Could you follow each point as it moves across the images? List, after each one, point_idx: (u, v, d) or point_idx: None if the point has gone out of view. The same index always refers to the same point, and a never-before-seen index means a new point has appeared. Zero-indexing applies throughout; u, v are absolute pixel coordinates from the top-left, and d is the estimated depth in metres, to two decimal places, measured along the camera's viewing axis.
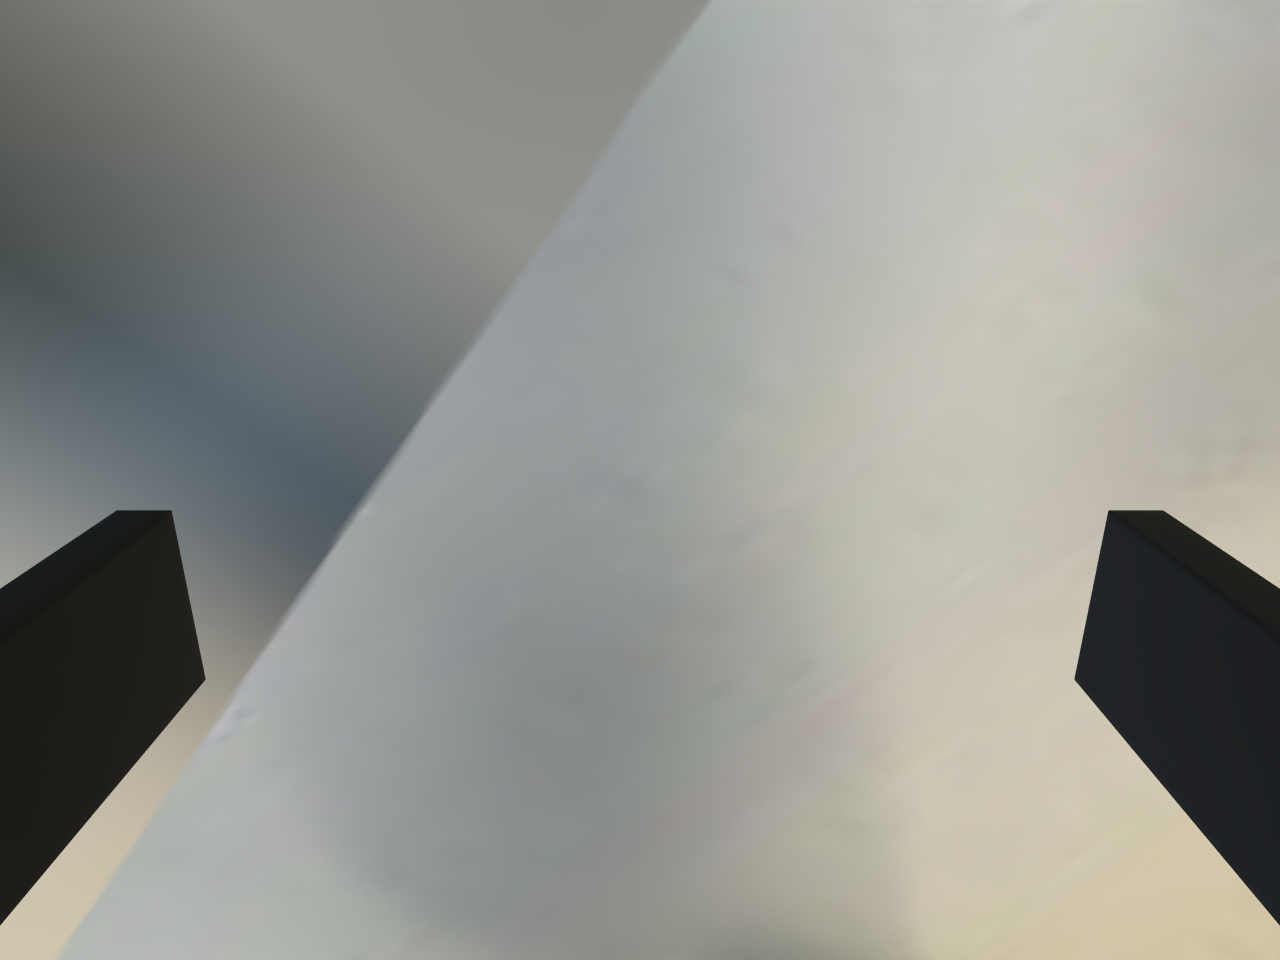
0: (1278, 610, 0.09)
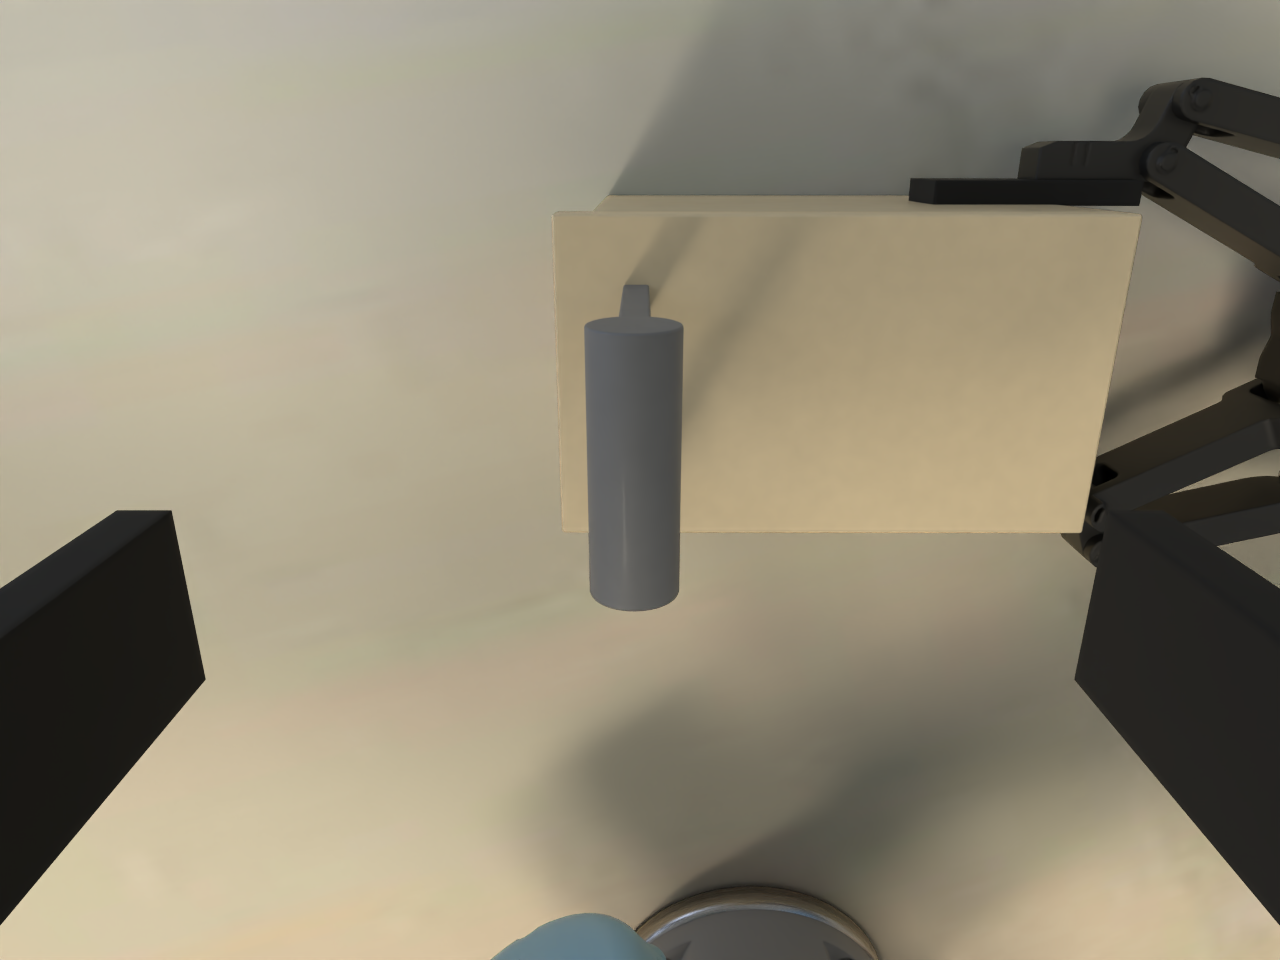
0: (1278, 610, 0.09)
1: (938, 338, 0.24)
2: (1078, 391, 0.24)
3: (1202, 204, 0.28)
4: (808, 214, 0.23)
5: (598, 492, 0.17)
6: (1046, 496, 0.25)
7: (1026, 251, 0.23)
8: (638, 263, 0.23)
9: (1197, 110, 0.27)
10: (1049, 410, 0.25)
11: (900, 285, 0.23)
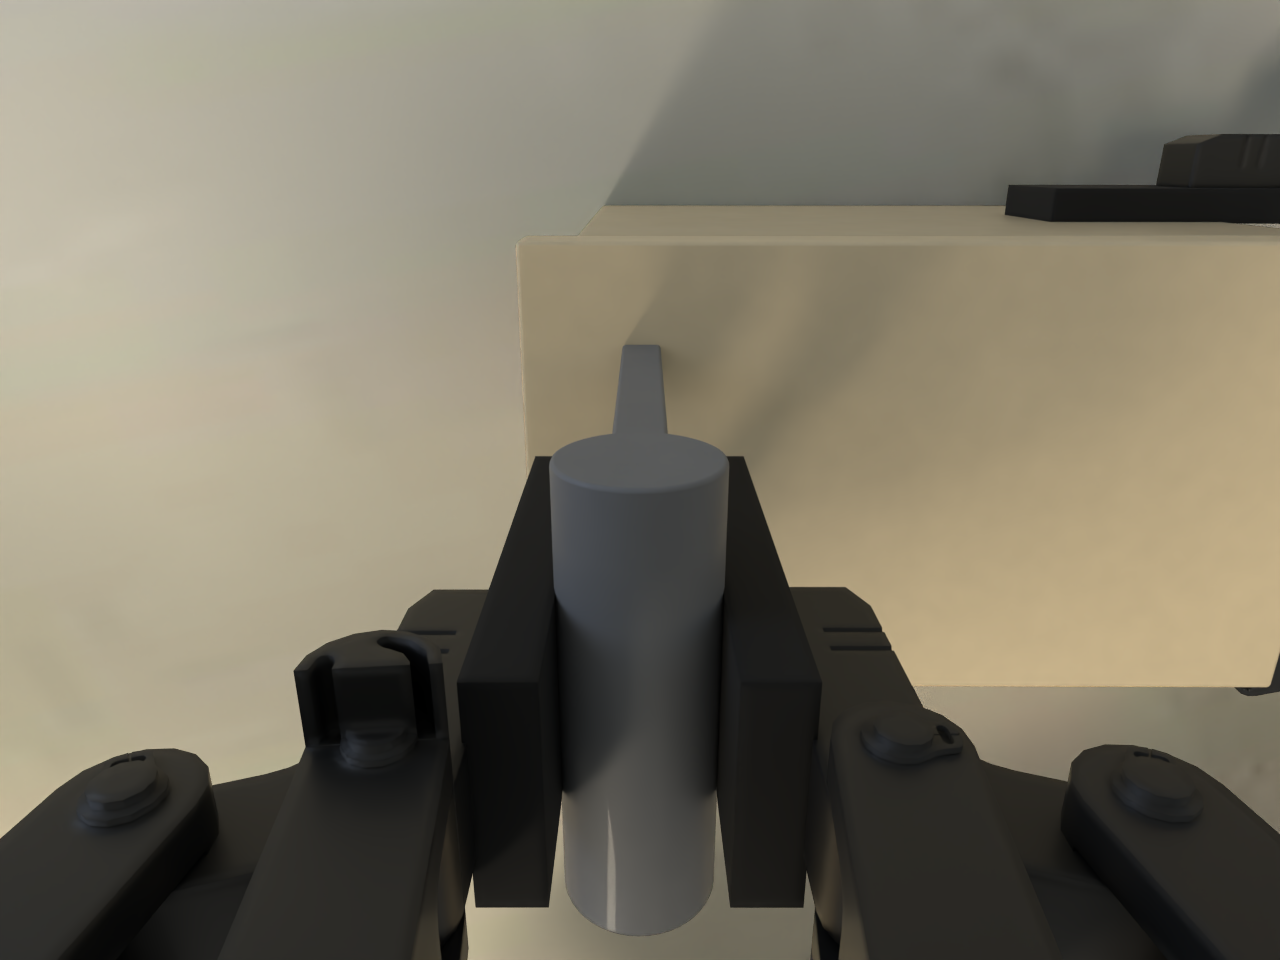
0: (741, 524, 0.11)
1: (1083, 421, 0.16)
2: None
3: None
4: (898, 242, 0.15)
5: (576, 745, 0.10)
6: (1225, 638, 0.18)
7: (1221, 296, 0.16)
8: (644, 313, 0.16)
9: None
10: (1237, 522, 0.17)
11: (1031, 345, 0.16)
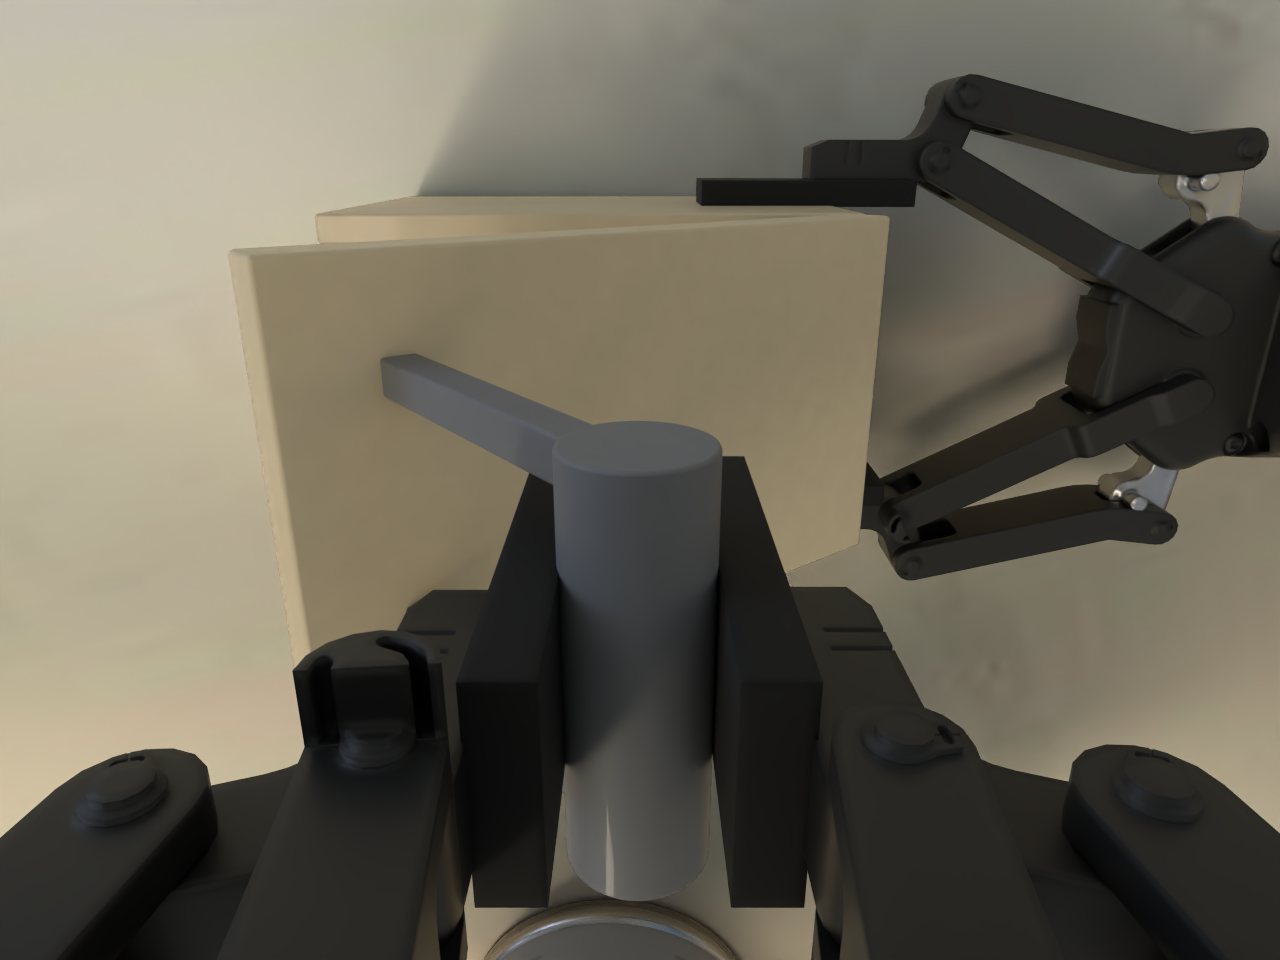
0: (742, 524, 0.11)
1: (742, 370, 0.20)
2: (852, 403, 0.23)
3: (980, 205, 0.27)
4: (607, 233, 0.17)
5: (621, 734, 0.10)
6: (834, 516, 0.24)
7: (810, 262, 0.21)
8: (398, 322, 0.15)
9: (967, 108, 0.26)
10: (832, 428, 0.23)
11: (706, 314, 0.19)
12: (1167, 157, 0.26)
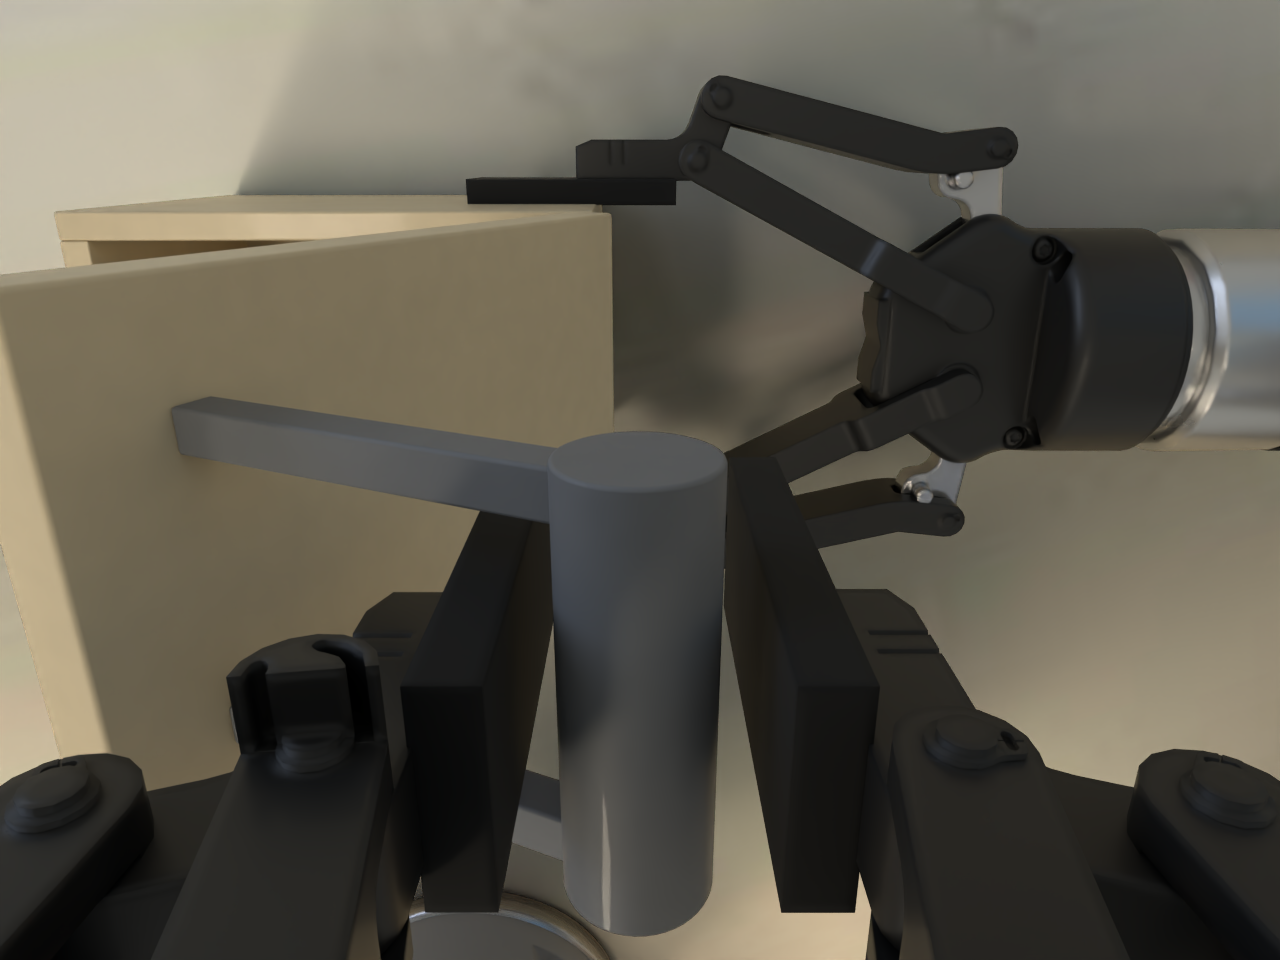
0: (780, 527, 0.11)
1: (516, 375, 0.20)
2: (600, 397, 0.24)
3: (742, 203, 0.27)
4: (389, 240, 0.15)
5: (661, 762, 0.10)
6: None
7: (558, 261, 0.21)
8: (187, 360, 0.12)
9: (719, 108, 0.26)
10: (588, 423, 0.23)
11: (482, 320, 0.18)
12: (920, 156, 0.27)
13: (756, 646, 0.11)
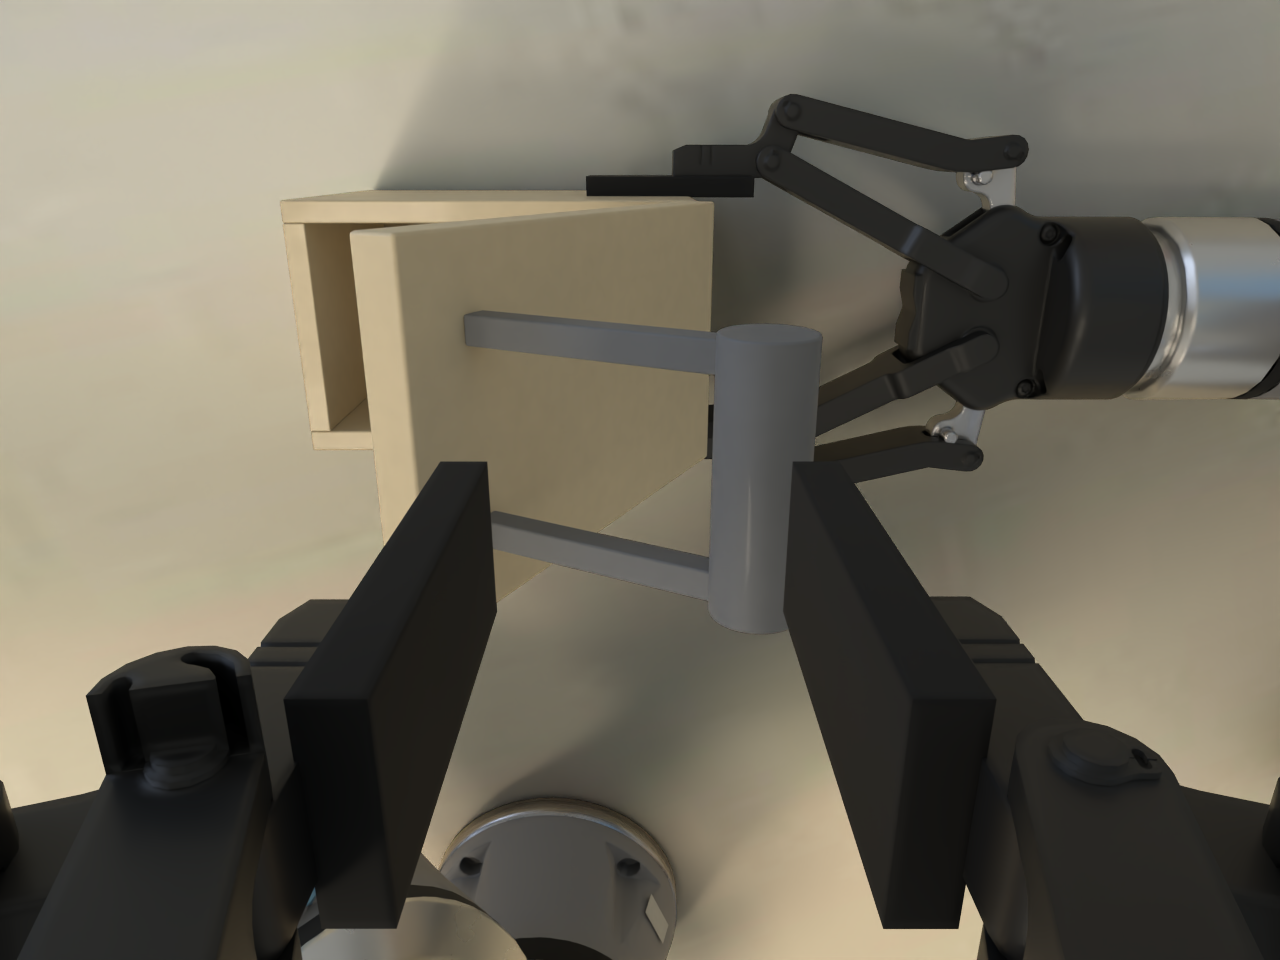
0: (859, 532, 0.11)
1: (646, 320, 0.26)
2: None
3: (806, 196, 0.34)
4: (577, 215, 0.22)
5: (778, 515, 0.16)
6: (694, 434, 0.31)
7: (677, 236, 0.27)
8: (472, 286, 0.19)
9: (790, 120, 0.33)
10: None
11: (627, 277, 0.25)
12: (950, 158, 0.33)
13: (839, 654, 0.11)
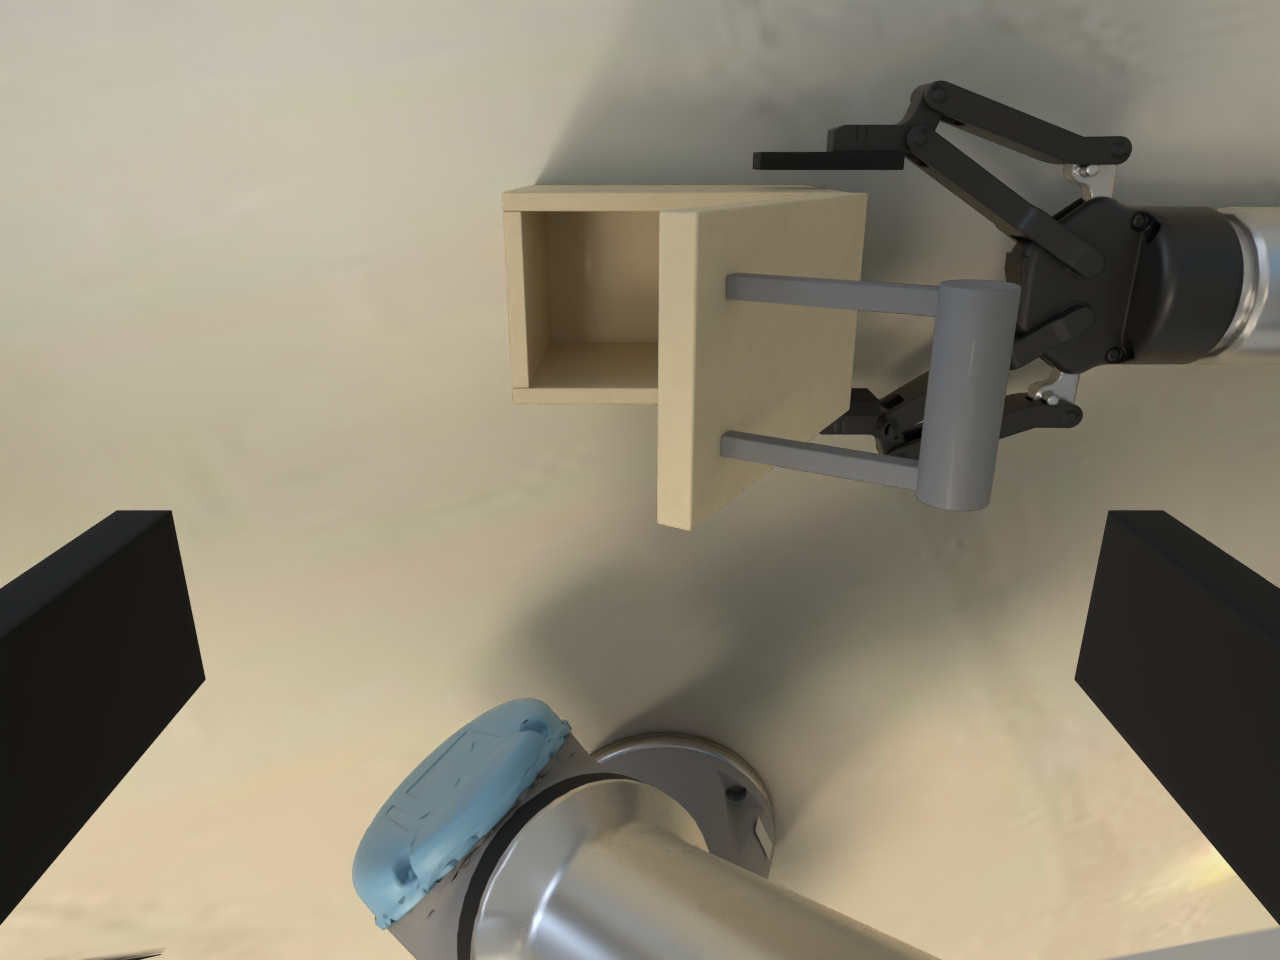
0: (1279, 610, 0.09)
1: None
2: (852, 314, 0.36)
3: (944, 171, 0.40)
4: (789, 202, 0.28)
5: (983, 419, 0.22)
6: (843, 389, 0.37)
7: (844, 221, 0.33)
8: (732, 253, 0.25)
9: (937, 103, 0.38)
10: (845, 329, 0.36)
11: (814, 252, 0.31)
12: (1065, 150, 0.39)
13: None
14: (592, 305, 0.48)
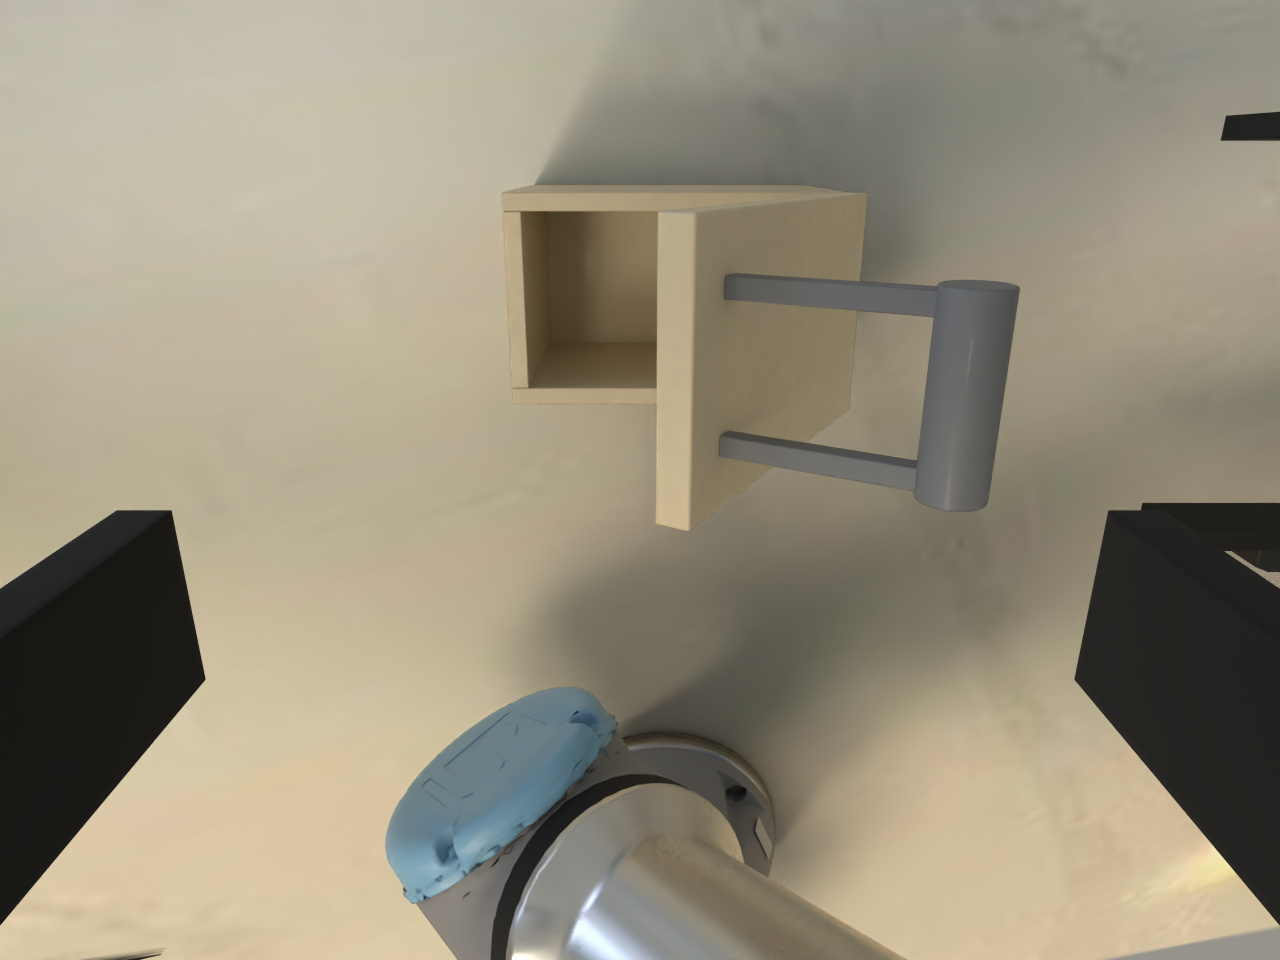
0: (1279, 610, 0.09)
1: None
2: (851, 314, 0.36)
3: None
4: (788, 202, 0.28)
5: (981, 420, 0.22)
6: (842, 389, 0.37)
7: (843, 221, 0.33)
8: (731, 254, 0.25)
9: None
10: (845, 330, 0.36)
11: (813, 253, 0.31)
12: None
13: None
14: (592, 305, 0.48)
